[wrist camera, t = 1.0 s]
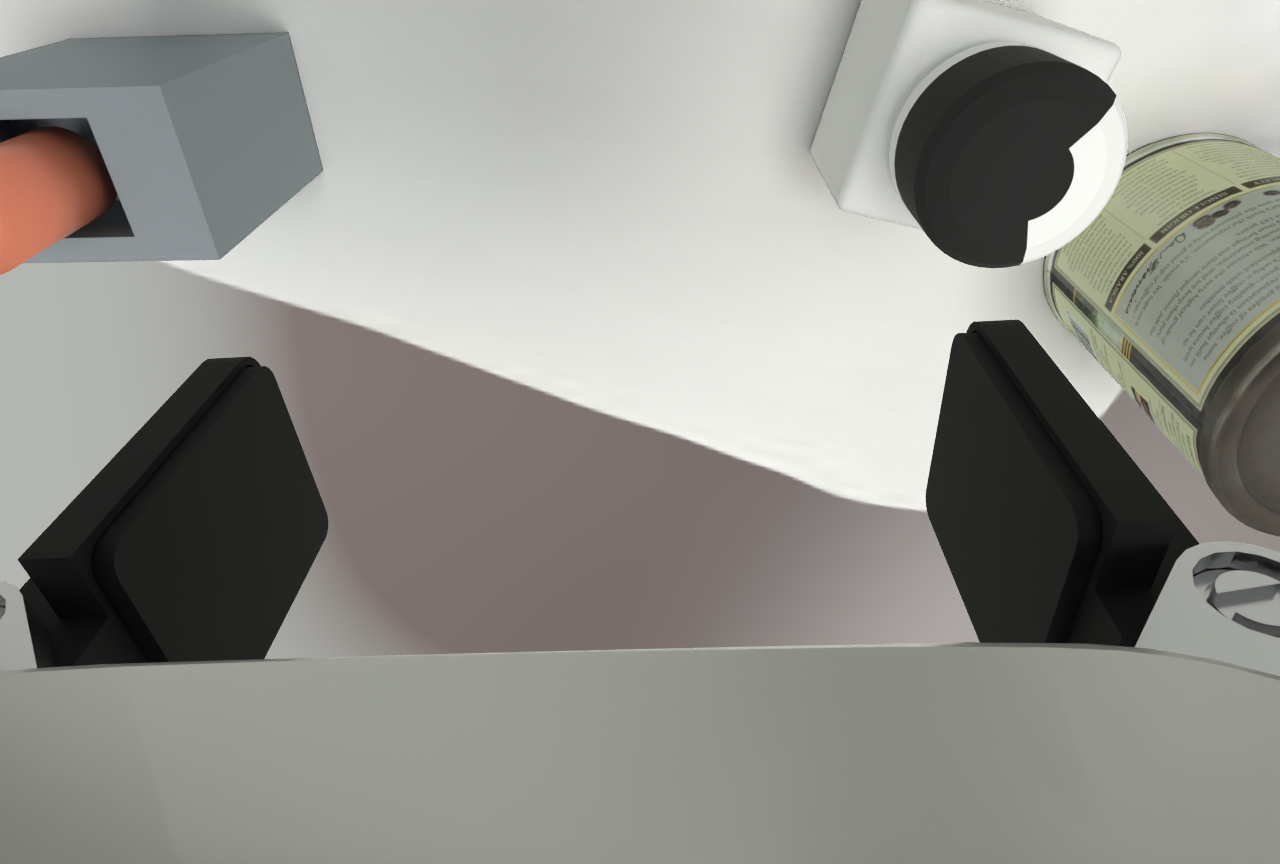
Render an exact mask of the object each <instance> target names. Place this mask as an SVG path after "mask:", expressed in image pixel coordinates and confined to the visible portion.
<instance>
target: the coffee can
mask: <svg viewBox="0 0 1280 864" xmlns="http://www.w3.org/2000/svg"><path fill="white" fill-rule="evenodd" d="M1044 287H1045V295H1046V297H1047V300H1048V303H1049V305H1050V307H1051V309H1052V311H1053V313H1054V315H1055V316H1056V318H1057V319H1058V320H1059V322H1060V323H1061V324H1062V325H1063V326H1064V327H1065V328H1066V329H1067V330H1068V331H1070V332H1071V333H1073V334H1074V335H1075V336H1076V337H1077V339H1078V340H1079V341H1080V342H1081V343H1082V344H1083V345H1084V346H1085V347H1086V349H1087V350H1088V351H1089V352H1090V353H1091V354H1092V355H1093V356H1094V357H1095V359H1096V360H1097V361H1098V362H1099V363H1100V364H1101V365H1102V367H1103V368H1104V369H1105V370H1106V371H1107V372H1108V373H1109V374H1110V375H1111V376H1112V377H1113V378H1114V379H1115V380H1116V381H1117V383H1118V384H1119V385H1120V386H1121V387H1122V388H1123V389H1124V390H1125V391H1126V392H1127V393H1128V395H1129V396H1130V397H1131V398H1132V399H1133V400H1134V401H1135V402H1136V403H1137V404H1138V406H1139V407H1140V408H1141V409H1142V410H1143V411H1144V412H1145V413H1146V414H1147V415H1148V417H1149V418H1150V419H1151V420H1152V421H1153V422H1154V423H1155V424H1156V425H1157V427H1158V428H1159V429H1160V430H1161V431H1162V433H1163V434H1164V435H1165V436H1166V437H1167V438H1169V440H1170V441H1171V442H1172V443H1173V444H1174V445H1175V446H1176V447H1177V449H1178V450H1179V451H1180V452H1181V453H1182V454H1183V455H1184V456H1185V457H1186V458H1187V459H1188V461H1189V462H1190V463H1191V464H1192V465H1193V466H1194V467H1195V468H1196V469H1197V470H1198V472H1199V473H1200V474H1201V475H1202V476H1203V477H1204V478H1205V479H1206V482H1207V484H1208V486H1209V488H1210V489H1211V491H1212V492H1213V493H1214V495H1215V496H1216V498H1217V499H1218V500H1219V502H1220V503H1221V504H1222V506H1223V507H1224V508H1225V509H1226V510H1227V511H1228V512H1229V513H1230V514H1231V515H1232V516H1234V517H1235V518H1236V519H1238V520H1239V521H1240V522H1242V523H1244V524H1245V525H1247V526H1249V527H1251V528H1254V529H1256V530H1258V531H1261V532H1264V533H1268V534H1271V535H1275V536H1280V159H1279V158H1277V157H1274V156H1272V155H1270V154H1268V153H1265V152H1263V151H1261V150H1260V149H1258V148H1257V147H1256V146H1254V145H1252V144H1250V143H1248V142H1247V141H1245V140H1242V139H1239V138H1236V137H1232V136H1227V135H1221V134H1212V133H1201V134H1189V135H1182V136H1177V137H1173V138H1169V139H1165V140H1162V141H1159V142H1155V143H1152V144H1149V145H1147V146H1145V147H1142V148H1140V149H1138V150H1137V151H1135V152H1133V153H1131V154H1130V155H1128V156H1127V157H1126V161H1125V165H1124V168H1123V171H1122V174H1121V178H1120V180H1119V182H1118V184H1117V186H1116V188H1115V191H1114V193H1113V194H1112V196H1111V198H1110V199H1109V201H1108V202H1107V204H1106V206H1105V207H1104V208H1103V209H1102V211H1101V212H1100V213H1099V215H1098V216H1097V217H1096V218H1095V219H1094V220H1093V222H1092V223H1091V224H1090V225H1089V226H1088V227H1087V228H1086V229H1085V230H1084V231H1082V232H1081V233H1080V234H1079V235H1078V236H1077V237H1075V238H1074V239H1073V240H1072V241H1070V242H1069V243H1067V244H1066V245H1064V246H1063V247H1061V248H1060V249H1058V250H1056V251H1054V252H1052V253H1051V254H1049V255H1047V256H1046V259H1045V265H1044Z"/></svg>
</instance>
